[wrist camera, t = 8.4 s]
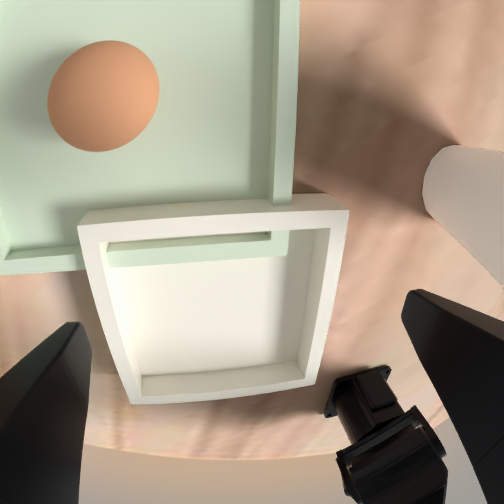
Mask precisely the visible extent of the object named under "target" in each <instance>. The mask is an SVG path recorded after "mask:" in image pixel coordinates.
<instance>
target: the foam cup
mask: <svg viewBox="0 0 504 504" xmlns="http://www.w3.org/2000/svg"><path fill="white" fill-rule="evenodd" d="M422 196H423V200H424V205H425V209H426V211H427V212H428V213H429V214H430V215H431V217H432V218H433V219H434V220H436V221H437V223H438V224H439V225H440V226H442V227H443V228H444V229H445V230H446V231H447V232H448V233H449V234H450V235H451V236H452V237H454V238H455V239H456V240H457V241H458V242H459V243H460V244H461V245H462V246H463V247H464V248H465V249H466V250H467V251H468V252H469V253H470V254H471V255H472V256H473V257H474V258H475V259H476V260H477V261H478V262H479V263H480V264H481V265H482V266H483V267H484V268H485V269H486V270H487V271H488V272H489V273H490V274H491V275H492V276H493V277H494V279H495V280H496V281H497V282H498V283H499V284H500V285H501V286H502V287H503V288H504V152H501V151H495V150H489V149H483V148H476V147H470V146H463V145H459V146H457V145H451V146H448V147H444V148H442V149H441V150H440V151H439V152H438V153H437V154H436V155H435V156H434V157H433V158H432V159H431V162H430V164H429V166H428V168H427V171H426V173H425V175H424V182H423V191H422Z"/></svg>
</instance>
